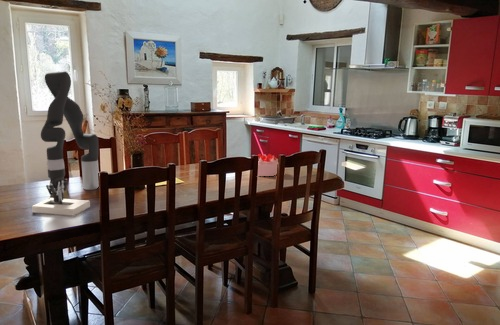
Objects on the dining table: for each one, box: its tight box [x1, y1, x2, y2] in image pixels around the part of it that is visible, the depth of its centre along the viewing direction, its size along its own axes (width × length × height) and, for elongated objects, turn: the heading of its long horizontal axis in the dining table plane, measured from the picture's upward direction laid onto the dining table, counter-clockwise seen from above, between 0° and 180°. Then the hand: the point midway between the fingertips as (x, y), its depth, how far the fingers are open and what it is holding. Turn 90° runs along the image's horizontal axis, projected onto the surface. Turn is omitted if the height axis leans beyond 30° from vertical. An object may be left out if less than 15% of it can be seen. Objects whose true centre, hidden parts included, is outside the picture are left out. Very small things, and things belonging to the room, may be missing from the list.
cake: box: [257, 153, 279, 177], centre depth 277 cm, size 20×20×14 cm
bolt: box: [54, 186, 63, 205], centre depth 190 cm, size 5×5×12 cm
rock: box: [49, 186, 70, 199], centre depth 207 cm, size 11×9×10 cm
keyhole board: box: [31, 197, 91, 217], centre depth 191 cm, size 14×22×4 cm, turn 81°
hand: (58, 200), depth 191 cm, fingers closed on bolt, 3 cm apart
